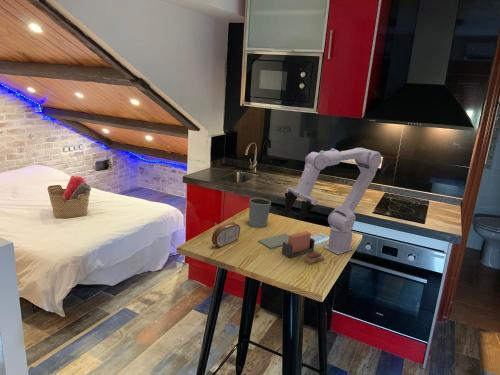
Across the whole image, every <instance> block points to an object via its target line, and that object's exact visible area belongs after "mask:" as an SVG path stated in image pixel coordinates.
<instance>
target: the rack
mask: <svg viewBox="0 0 500 375" xmlns="http://www.w3.org/2000/svg"><path fill="white" fill-rule="evenodd" d="M315 242H316V240H315V238H312V237H310V244H309V249H305V250H302V251H299V252H295V253H292V247H293V246H291V245H289V244H287V243H286V242H283V246H281V247H282V248H281V254H282V255H283V256H285V257H286V258H288V259H292V258H296V257H300V256H302V255H307V254H308V253H311V252H315V251H314V249H315Z"/></svg>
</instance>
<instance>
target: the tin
mask: <svg viewBox="0 0 500 375" xmlns="http://www.w3.org/2000/svg"><path fill="white" fill-rule="evenodd" d="M240 233H241V226H240V225H239V224H238V223H236V222H234V221H233V222H229V223H226V224H223V225H220V226H217V227H216V229H214V231H213V233H212V236H211V243H212V244H213V245H214V246H216V247H218V248H222V247H224V246H227V245H229V244H232V243H234V242H236V241H237V240H238V238H239V237H240Z"/></svg>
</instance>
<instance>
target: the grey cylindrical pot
mask: <svg viewBox="0 0 500 375" xmlns="http://www.w3.org/2000/svg"><path fill="white" fill-rule="evenodd" d="M271 205H272V201H271V200H269V199H267V198H262V197H252V198H250V199H249V207H248V208H249V209H248V210H249V213H248V214H249V217H248V219H249V220H248V225H249V226H250V227H252V228H256V229H262V228H266V227H267V224H268V218H269V214H270V209H271Z"/></svg>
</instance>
